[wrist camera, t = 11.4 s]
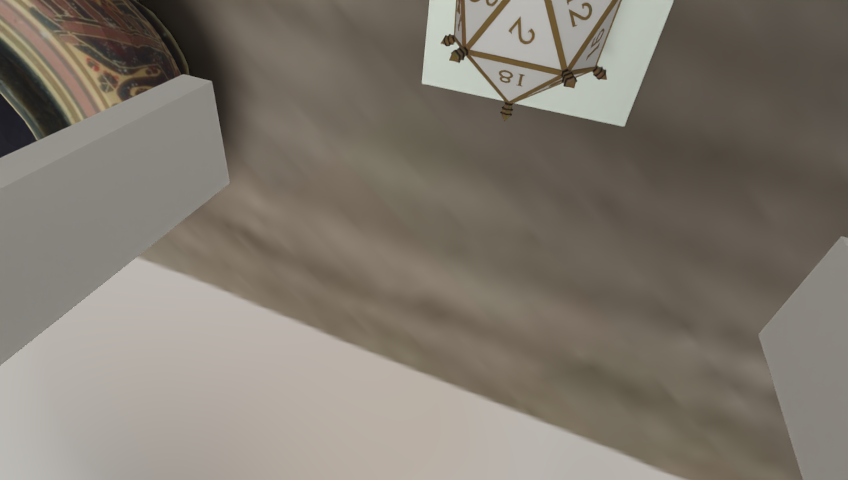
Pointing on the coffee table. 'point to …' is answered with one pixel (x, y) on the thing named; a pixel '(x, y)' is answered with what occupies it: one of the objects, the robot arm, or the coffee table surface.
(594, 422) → the coffee table surface
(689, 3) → the coffee table surface
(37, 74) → the ceramic bowl
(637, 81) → the pale green flat panel
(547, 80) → the game die
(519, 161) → the coffee table surface
